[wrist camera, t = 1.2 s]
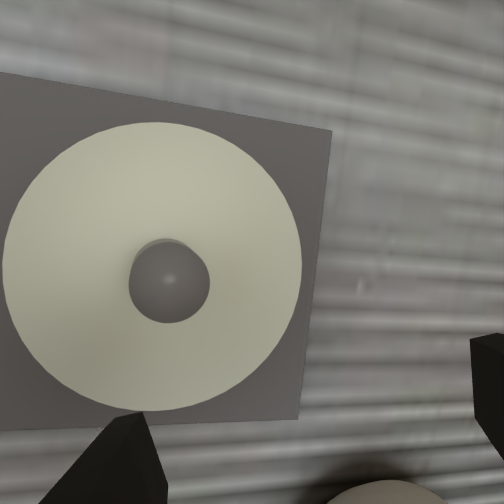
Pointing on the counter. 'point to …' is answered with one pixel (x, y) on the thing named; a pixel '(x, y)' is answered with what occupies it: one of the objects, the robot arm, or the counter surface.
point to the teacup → (387, 494)
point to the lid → (152, 266)
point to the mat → (144, 111)
